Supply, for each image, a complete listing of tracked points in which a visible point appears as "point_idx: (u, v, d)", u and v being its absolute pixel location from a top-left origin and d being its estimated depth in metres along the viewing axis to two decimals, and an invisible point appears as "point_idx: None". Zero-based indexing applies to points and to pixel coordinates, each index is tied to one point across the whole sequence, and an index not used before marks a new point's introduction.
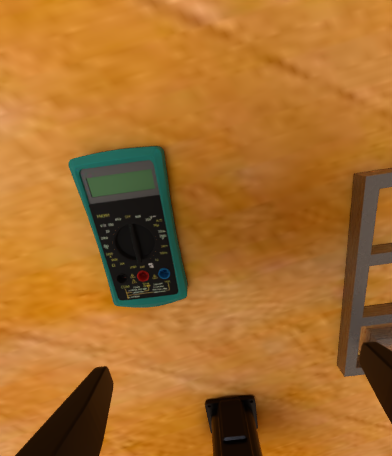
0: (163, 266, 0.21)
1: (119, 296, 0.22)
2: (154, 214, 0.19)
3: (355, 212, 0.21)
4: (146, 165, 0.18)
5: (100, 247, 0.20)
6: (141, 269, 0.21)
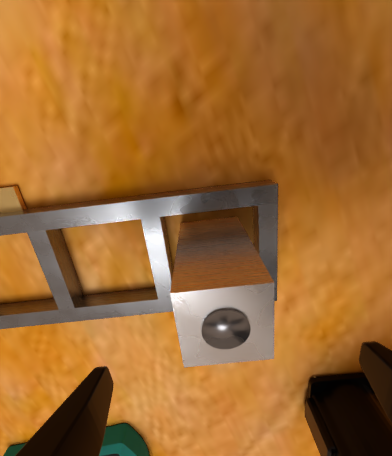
0: None
1: None
2: None
3: None
4: None
5: None
6: None
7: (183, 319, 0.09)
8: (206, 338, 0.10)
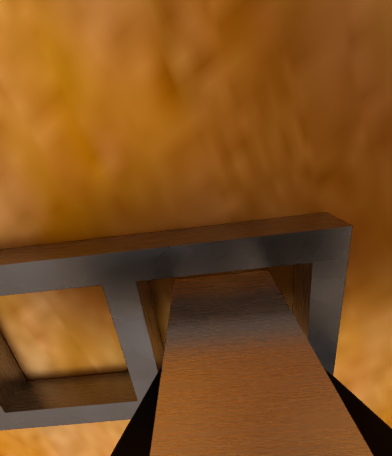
0: None
1: None
2: None
3: None
4: None
5: None
6: None
7: None
8: None
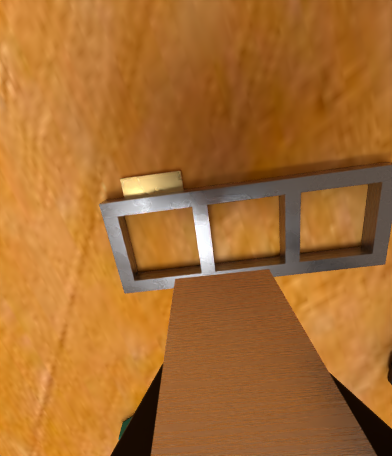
0: None
1: None
2: None
3: None
4: None
5: None
6: None
7: None
8: None
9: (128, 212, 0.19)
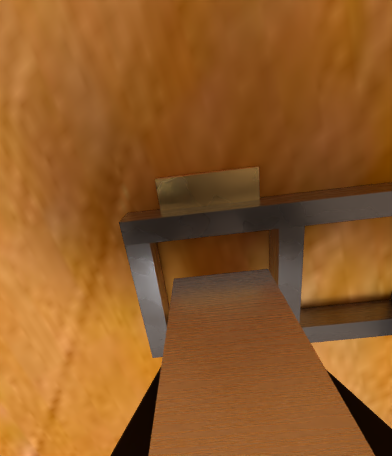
0: None
1: None
2: None
3: None
4: None
5: None
6: None
7: None
8: None
9: (169, 236, 0.11)
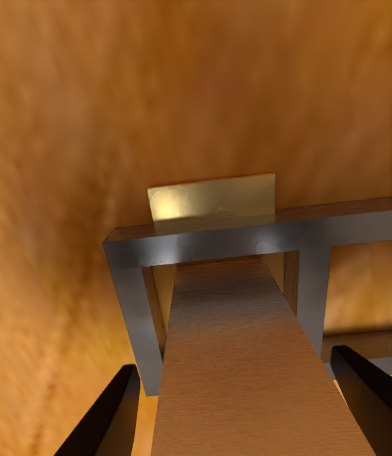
0: None
1: None
2: None
3: None
4: None
5: None
6: None
7: None
8: None
9: (164, 259, 0.09)
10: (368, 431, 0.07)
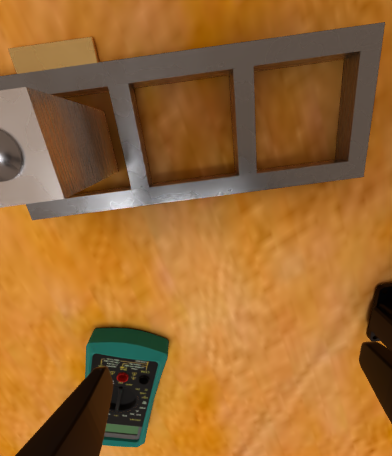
0: None
1: (155, 365, 0.21)
2: None
3: None
4: None
5: (149, 404, 0.23)
6: (121, 381, 0.22)
7: None
8: None
9: None
10: None
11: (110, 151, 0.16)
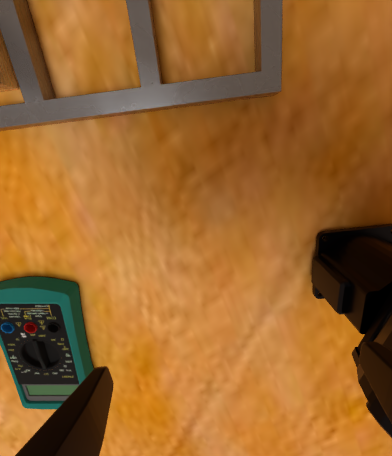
0: (9, 333, 0.20)
1: (58, 308, 0.20)
2: (22, 373, 0.22)
3: None
4: (32, 398, 0.24)
5: None
6: (32, 333, 0.20)
7: None
8: None
9: None
10: None
11: (1, 59, 0.14)
